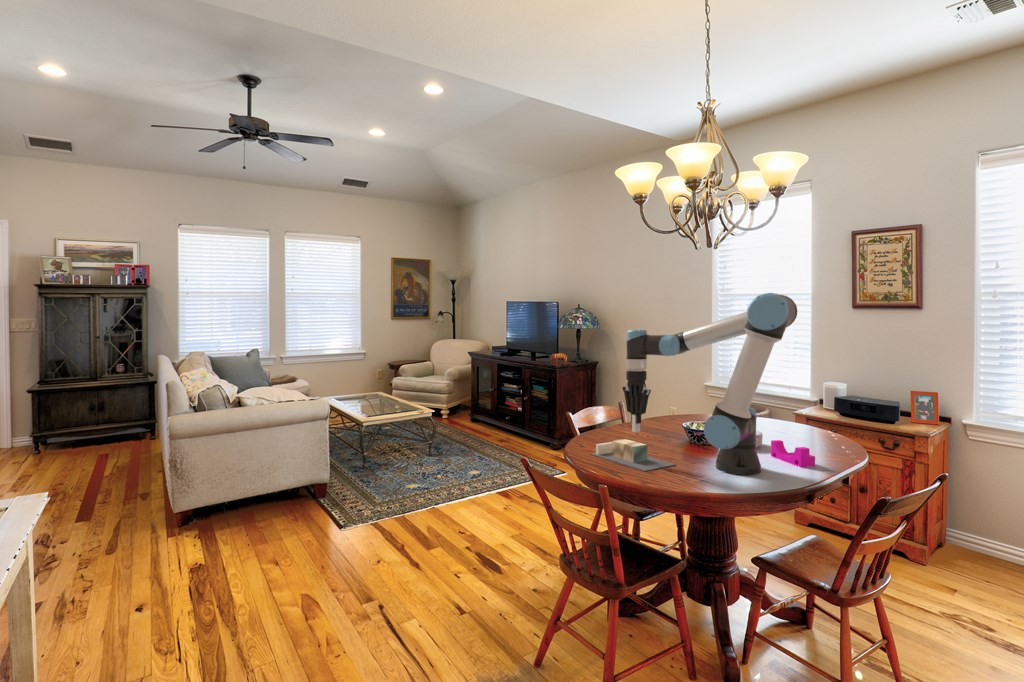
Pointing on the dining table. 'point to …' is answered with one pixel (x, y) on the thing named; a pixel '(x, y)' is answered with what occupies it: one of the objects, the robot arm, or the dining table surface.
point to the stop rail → (604, 448)
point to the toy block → (792, 454)
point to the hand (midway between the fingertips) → (636, 431)
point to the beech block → (629, 450)
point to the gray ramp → (642, 465)
